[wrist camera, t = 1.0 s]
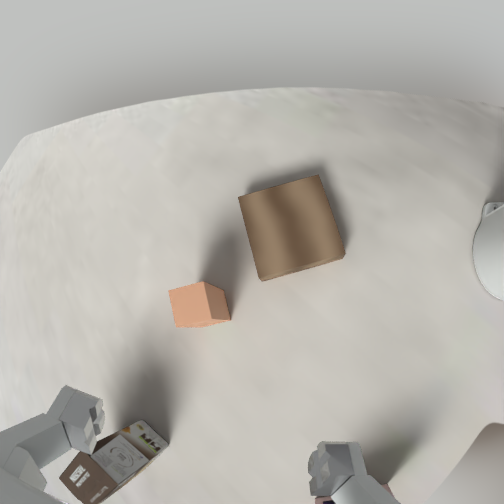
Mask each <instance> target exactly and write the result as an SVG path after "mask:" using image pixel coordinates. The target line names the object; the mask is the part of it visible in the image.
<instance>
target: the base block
mask: <svg viewBox="0 0 504 504" xmlns="http://www.w3.org/2000/svg"><path fill="white" fill-rule="evenodd" d="M238 199H239V203H240V207H241V211H242V215H243V219H244V222H245V226H246V230H247V234H248V238H249V242H250V246H251V250H252V253H253V257H254V261H255V265H256V269H257V273H258V277H259V279H260V280H261V281H266V280H270V279H273V278H277V277H280V276H284V275H288V274H291V273H295V272H298V271H302V270H305V269H309V268H312V267H316V266H319V265H323V264H326V263H330V262H333V261H336V260H340V259H343V257H344V255H345V254H346V253H345V250H344V247H343V244H342V240H341V237H340V234H339V231H338V228H337V225H336V222H335V219H334V217H333V214H332V211H331V208H330V205H329V202H328V199H327V197H326V194H325V191H324V188H323V186H322V183H321V180H320V177H319V175H315V176H311V177H307V178H304V179H300V180H296V181H293V182H289V183H285V184H282V185H278V186H275V187H271V188H268V189H264V190H261V191H257V192H254V193H250V194H247V195H244V196H240V197H238Z"/></svg>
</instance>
